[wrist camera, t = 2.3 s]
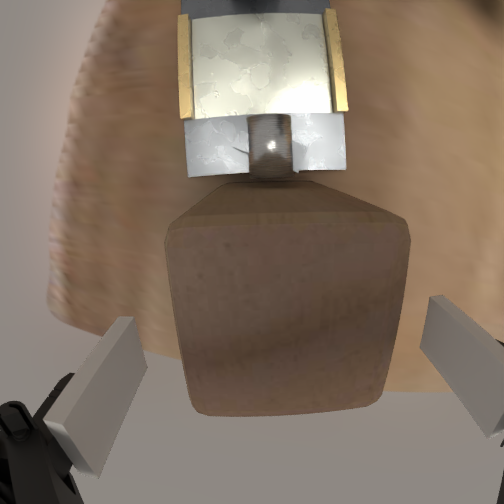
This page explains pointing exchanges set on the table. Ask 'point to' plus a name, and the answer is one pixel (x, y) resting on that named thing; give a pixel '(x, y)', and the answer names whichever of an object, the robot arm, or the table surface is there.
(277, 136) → the grey metal fixture stand
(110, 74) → the table surface
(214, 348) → the wooden block
